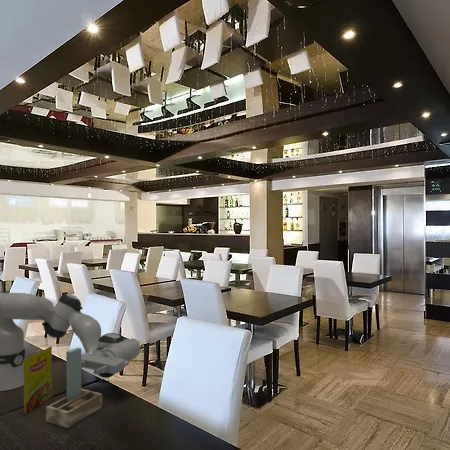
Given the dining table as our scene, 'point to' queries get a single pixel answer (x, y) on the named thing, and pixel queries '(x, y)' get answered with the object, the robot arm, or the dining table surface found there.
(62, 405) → the slot rack
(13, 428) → the dining table surface
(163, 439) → the dining table surface
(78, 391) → the blue-grey rectangular bar
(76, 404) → the upper offcut
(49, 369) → the food package
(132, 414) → the dining table surface
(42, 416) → the dining table surface
